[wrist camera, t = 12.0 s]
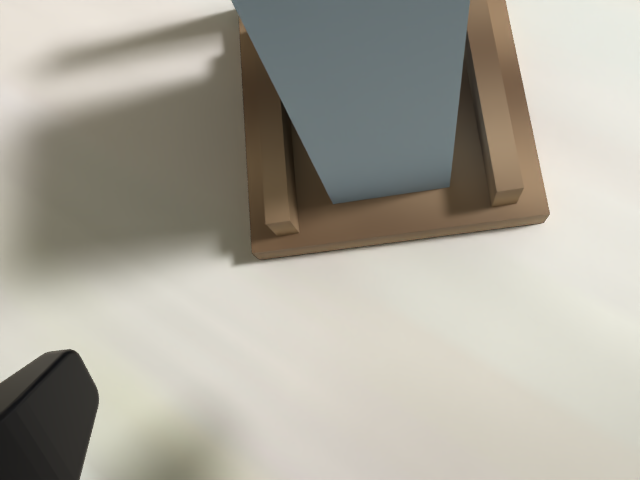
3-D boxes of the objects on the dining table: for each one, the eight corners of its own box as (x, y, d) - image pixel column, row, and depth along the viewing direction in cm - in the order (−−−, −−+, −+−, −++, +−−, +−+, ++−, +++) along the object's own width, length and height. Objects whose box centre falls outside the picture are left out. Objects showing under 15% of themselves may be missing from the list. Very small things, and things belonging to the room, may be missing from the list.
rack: (543, 222, 19) (636, 87, 11) (259, 259, 21) (143, 167, 12) (489, -44, 22) (528, -316, 14) (244, 5, 24) (142, -212, 15)
